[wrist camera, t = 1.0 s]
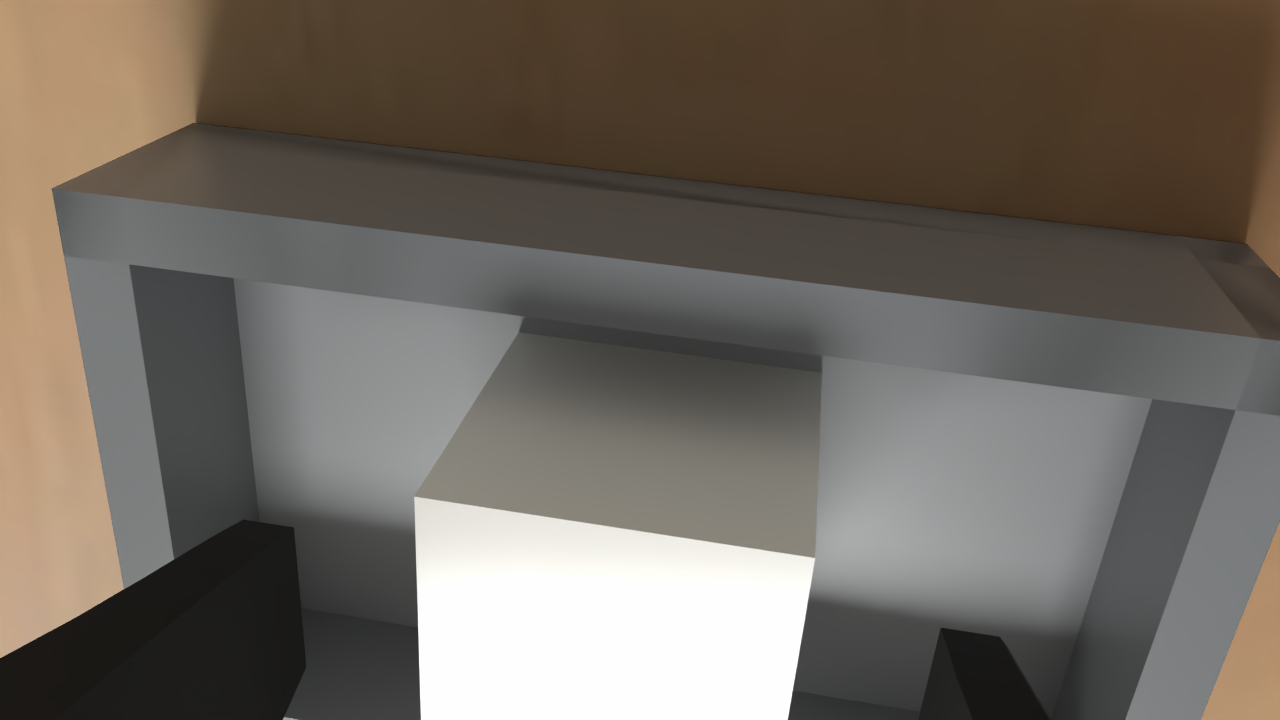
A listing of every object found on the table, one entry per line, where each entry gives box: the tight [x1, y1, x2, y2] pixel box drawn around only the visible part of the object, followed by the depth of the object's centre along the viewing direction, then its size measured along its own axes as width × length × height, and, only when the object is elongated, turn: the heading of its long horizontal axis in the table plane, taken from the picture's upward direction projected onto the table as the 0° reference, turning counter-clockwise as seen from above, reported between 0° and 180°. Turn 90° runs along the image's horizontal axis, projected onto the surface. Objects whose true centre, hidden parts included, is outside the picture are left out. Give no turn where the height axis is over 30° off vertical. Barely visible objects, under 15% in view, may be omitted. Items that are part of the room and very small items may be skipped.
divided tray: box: [52, 123, 1280, 720], centre depth 16 cm, size 14×16×3 cm
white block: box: [414, 332, 822, 720], centre depth 13 cm, size 4×4×4 cm
